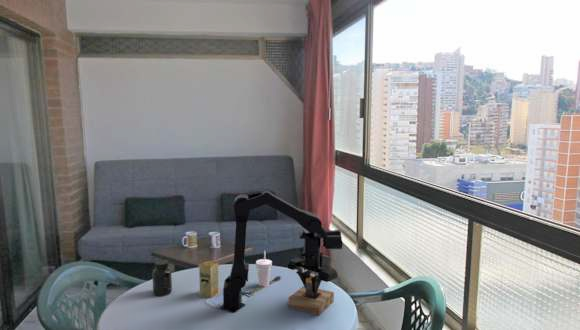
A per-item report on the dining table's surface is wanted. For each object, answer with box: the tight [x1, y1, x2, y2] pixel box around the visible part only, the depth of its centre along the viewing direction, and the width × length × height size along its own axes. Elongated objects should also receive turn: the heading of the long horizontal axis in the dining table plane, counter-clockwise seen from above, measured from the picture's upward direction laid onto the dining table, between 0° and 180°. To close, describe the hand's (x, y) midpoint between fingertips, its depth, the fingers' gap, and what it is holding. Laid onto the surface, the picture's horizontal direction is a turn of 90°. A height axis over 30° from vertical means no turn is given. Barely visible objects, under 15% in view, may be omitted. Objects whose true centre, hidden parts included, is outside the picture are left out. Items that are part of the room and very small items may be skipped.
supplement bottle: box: [152, 259, 173, 297], centre depth 155 cm, size 7×7×12 cm
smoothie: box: [255, 250, 273, 288], centre depth 162 cm, size 6×6×14 cm
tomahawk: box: [242, 275, 282, 298], centre depth 161 cm, size 21×7×1 cm, turn 141°
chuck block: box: [288, 285, 335, 316], centre depth 147 cm, size 12×12×4 cm
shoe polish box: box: [198, 260, 219, 299], centre depth 154 cm, size 5×5×12 cm
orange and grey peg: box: [305, 274, 318, 299], centre depth 147 cm, size 3×3×8 cm
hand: (311, 292), depth 147 cm, fingers closed on orange and grey peg, 3 cm apart
